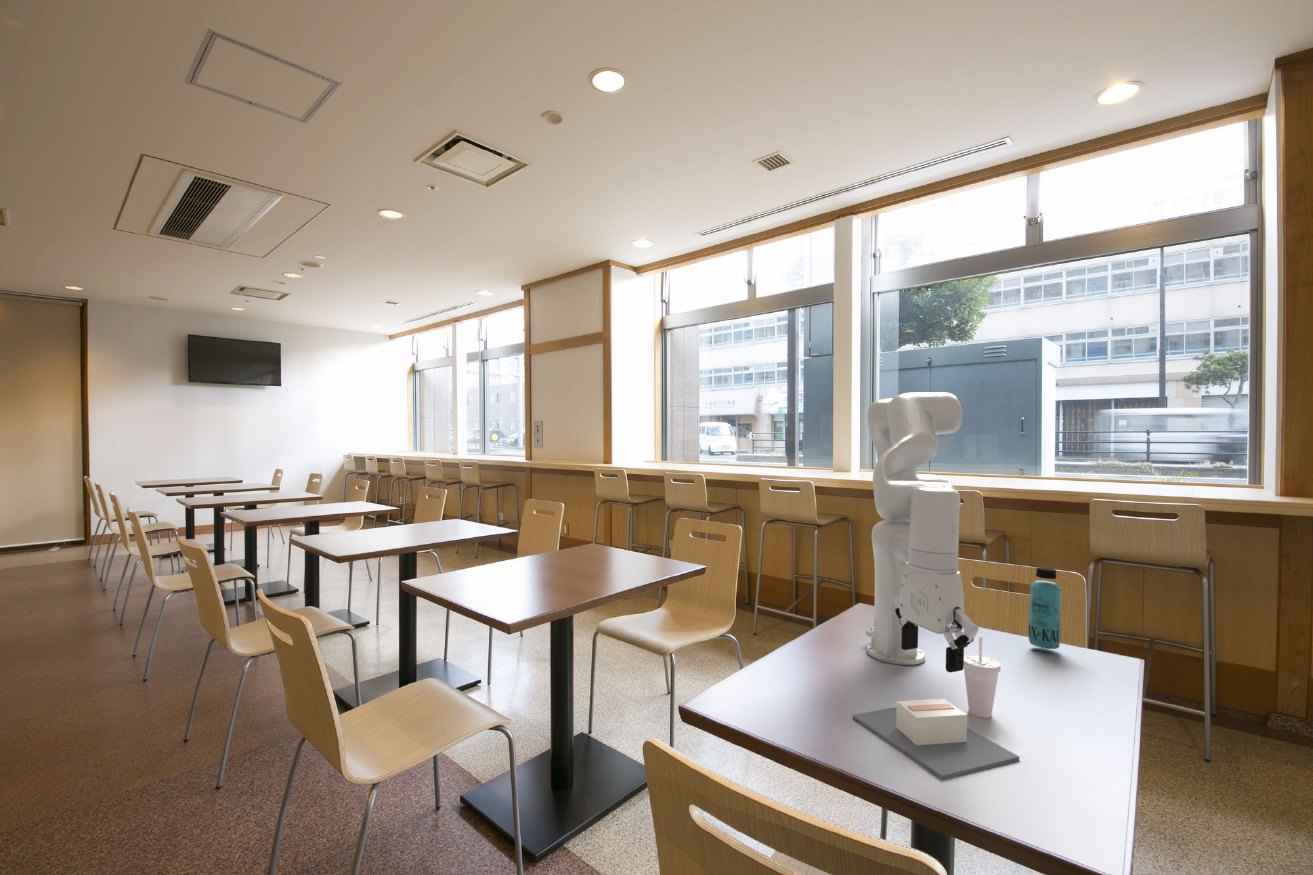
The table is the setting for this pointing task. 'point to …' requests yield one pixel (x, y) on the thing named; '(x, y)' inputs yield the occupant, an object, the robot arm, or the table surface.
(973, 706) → the smoothie
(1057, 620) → the beverage bottle
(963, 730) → the card box
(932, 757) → the mat
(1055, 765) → the table surface
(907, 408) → the robot arm
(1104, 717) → the table surface
